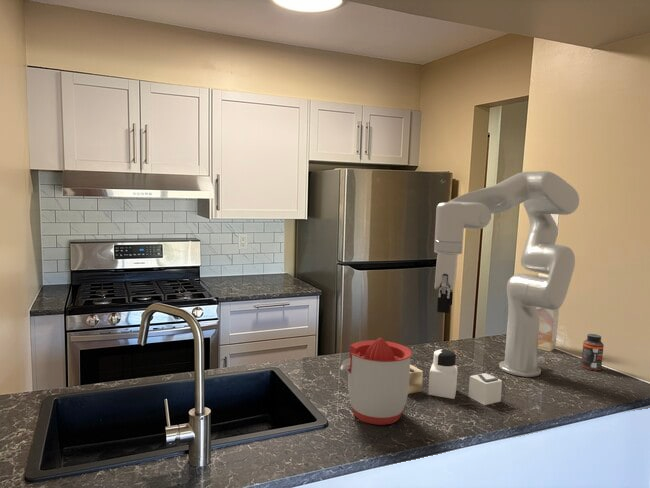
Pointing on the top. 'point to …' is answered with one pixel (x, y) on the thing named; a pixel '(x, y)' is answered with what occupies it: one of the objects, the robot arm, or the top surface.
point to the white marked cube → (485, 388)
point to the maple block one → (415, 380)
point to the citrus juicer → (378, 380)
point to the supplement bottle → (592, 352)
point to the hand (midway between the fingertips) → (444, 308)
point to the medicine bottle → (443, 374)
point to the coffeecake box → (547, 328)
